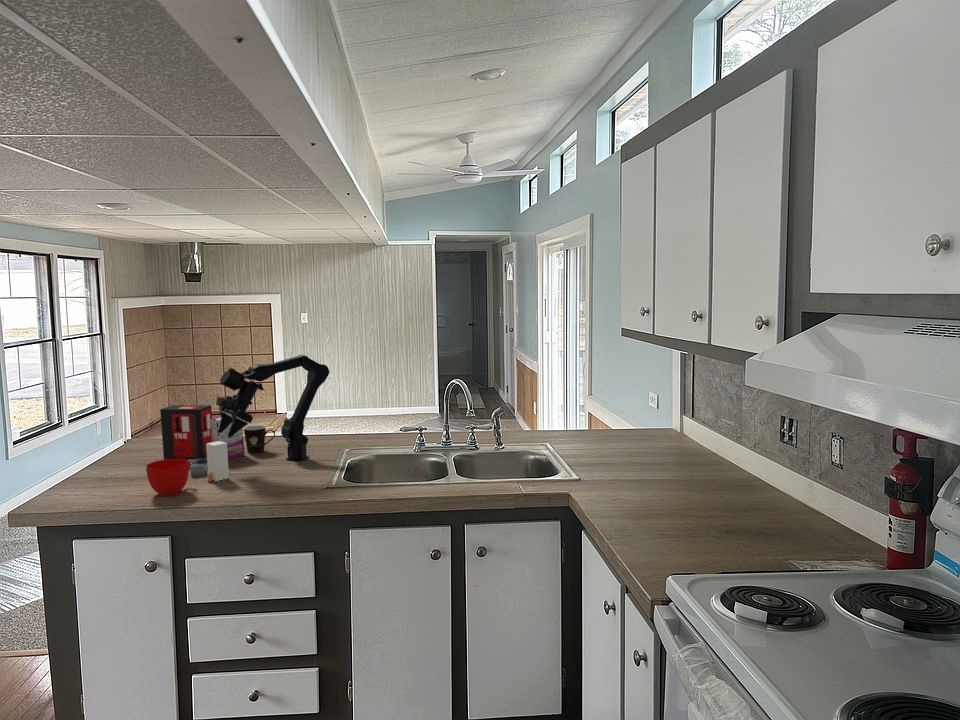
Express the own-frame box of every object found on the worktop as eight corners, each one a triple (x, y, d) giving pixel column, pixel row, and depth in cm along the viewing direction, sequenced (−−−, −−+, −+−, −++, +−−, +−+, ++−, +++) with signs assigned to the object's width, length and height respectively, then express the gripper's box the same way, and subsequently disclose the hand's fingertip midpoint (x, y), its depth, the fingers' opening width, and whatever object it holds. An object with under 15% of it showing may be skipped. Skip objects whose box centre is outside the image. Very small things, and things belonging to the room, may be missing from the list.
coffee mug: (240, 453, 284) (239, 429, 283) (253, 448, 292) (251, 425, 291) (265, 455, 280) (263, 430, 279) (277, 450, 289) (276, 426, 287)
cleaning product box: (163, 459, 278) (160, 409, 275) (175, 453, 286) (172, 405, 284) (203, 459, 276) (200, 409, 273) (214, 453, 285) (211, 405, 282)
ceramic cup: (206, 485, 241) (204, 456, 240) (172, 500, 225) (170, 470, 224) (174, 482, 245) (172, 454, 243) (139, 497, 228) (136, 467, 227)
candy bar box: (237, 453, 284) (235, 413, 282) (244, 455, 281) (242, 415, 279) (212, 459, 275) (210, 418, 273) (219, 461, 272) (217, 420, 270)
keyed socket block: (222, 464, 268) (222, 455, 267) (226, 472, 257) (225, 462, 256) (188, 468, 262) (188, 459, 262) (191, 476, 252) (190, 467, 251)
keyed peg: (221, 476, 252) (219, 440, 250) (229, 478, 248) (226, 442, 247) (204, 480, 246) (202, 444, 245) (212, 483, 243) (209, 446, 242)
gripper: (216, 383, 261) (195, 421, 257) (235, 389, 246) (213, 429, 243) (242, 396, 267) (222, 433, 264) (262, 402, 253) (241, 442, 249)
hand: (224, 434), depth 255 cm, fingers open, 9 cm apart
